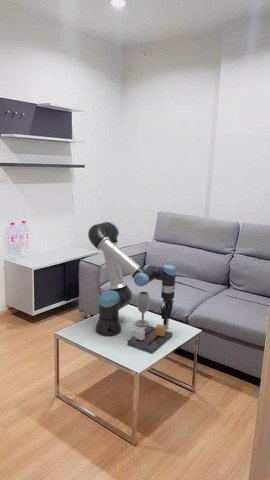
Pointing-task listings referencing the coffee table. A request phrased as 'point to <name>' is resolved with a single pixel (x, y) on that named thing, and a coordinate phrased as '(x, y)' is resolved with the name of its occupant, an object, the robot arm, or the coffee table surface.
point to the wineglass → (143, 307)
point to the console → (150, 340)
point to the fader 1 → (140, 334)
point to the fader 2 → (160, 330)
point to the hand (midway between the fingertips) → (165, 328)
